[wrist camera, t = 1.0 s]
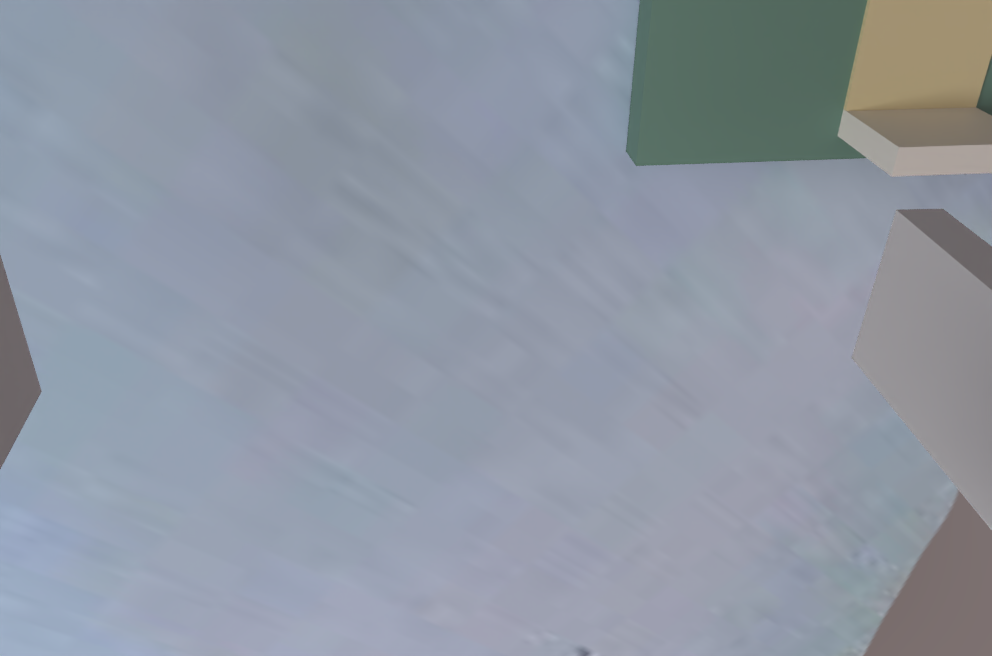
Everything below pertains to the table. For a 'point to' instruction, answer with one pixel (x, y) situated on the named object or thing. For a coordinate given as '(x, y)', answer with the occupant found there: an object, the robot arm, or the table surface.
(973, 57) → the header board
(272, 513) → the table surface
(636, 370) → the table surface
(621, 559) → the table surface
